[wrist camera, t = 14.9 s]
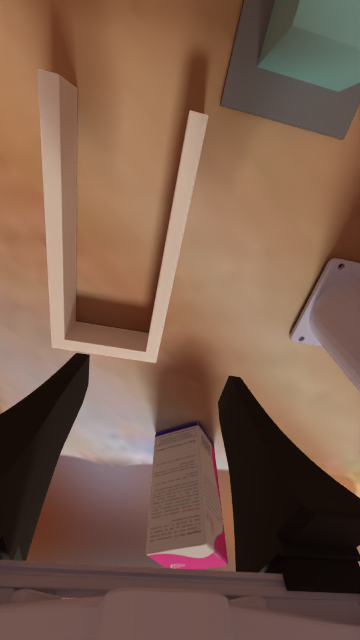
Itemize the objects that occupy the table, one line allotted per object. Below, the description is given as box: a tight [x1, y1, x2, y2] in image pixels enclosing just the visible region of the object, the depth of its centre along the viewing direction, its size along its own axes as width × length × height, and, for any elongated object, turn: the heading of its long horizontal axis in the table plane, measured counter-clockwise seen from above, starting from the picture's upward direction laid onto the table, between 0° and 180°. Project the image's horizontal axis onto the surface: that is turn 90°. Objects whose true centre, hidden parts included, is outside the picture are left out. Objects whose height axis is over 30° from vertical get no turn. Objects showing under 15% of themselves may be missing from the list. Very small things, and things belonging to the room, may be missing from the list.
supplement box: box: [146, 421, 228, 570], centre depth 27 cm, size 6×6×12 cm
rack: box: [37, 68, 209, 363], centre depth 18 cm, size 8×17×3 cm, turn 168°
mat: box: [220, 0, 360, 140], centre depth 14 cm, size 8×8×1 cm
